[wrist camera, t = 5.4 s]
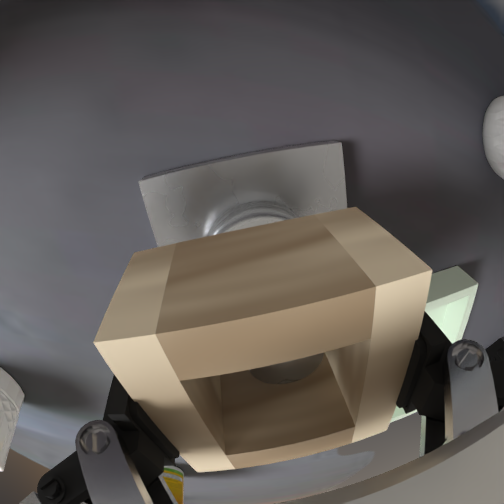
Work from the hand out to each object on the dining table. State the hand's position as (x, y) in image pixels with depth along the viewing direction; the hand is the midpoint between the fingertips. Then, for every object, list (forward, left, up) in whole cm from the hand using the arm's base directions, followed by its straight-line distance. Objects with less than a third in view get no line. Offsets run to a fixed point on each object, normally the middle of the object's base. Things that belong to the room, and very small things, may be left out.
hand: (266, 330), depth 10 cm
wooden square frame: (0, 0, -1) cm, 1 cm away
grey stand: (0, 0, -7) cm, 7 cm away
